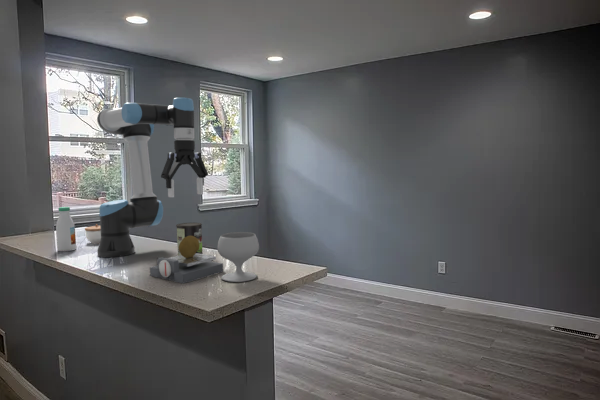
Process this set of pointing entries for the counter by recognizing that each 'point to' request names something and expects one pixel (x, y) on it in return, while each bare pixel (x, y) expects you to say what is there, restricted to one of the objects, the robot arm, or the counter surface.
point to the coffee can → (189, 233)
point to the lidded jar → (93, 234)
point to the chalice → (238, 253)
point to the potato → (189, 246)
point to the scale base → (184, 270)
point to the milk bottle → (65, 231)
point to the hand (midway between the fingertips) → (186, 195)
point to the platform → (193, 259)
